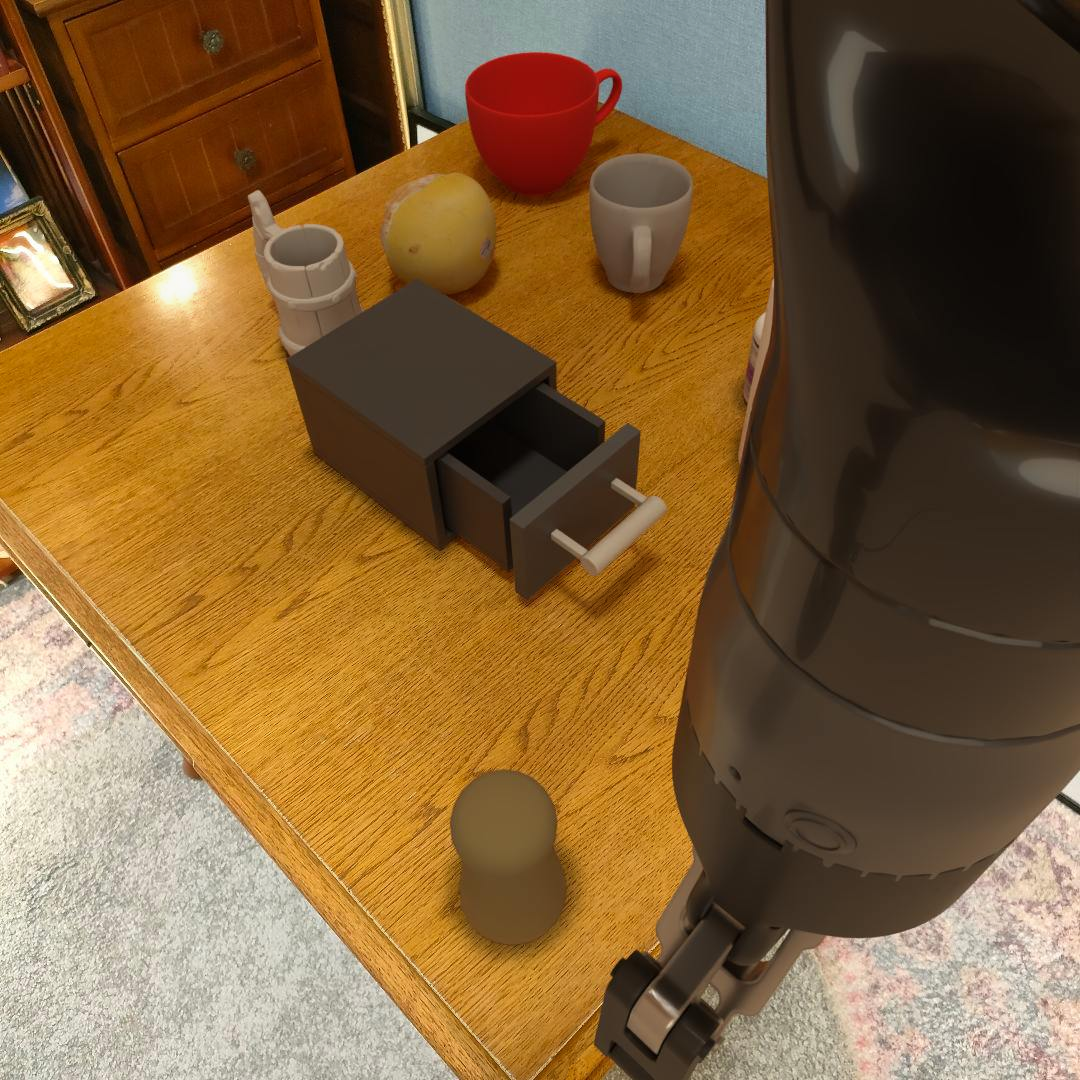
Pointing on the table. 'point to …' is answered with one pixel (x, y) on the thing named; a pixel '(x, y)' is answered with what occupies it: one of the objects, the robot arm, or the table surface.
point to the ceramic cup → (536, 117)
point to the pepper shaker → (508, 857)
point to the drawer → (545, 489)
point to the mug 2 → (639, 218)
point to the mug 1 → (304, 276)
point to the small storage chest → (409, 395)
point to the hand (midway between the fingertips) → (753, 929)
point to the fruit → (440, 232)
